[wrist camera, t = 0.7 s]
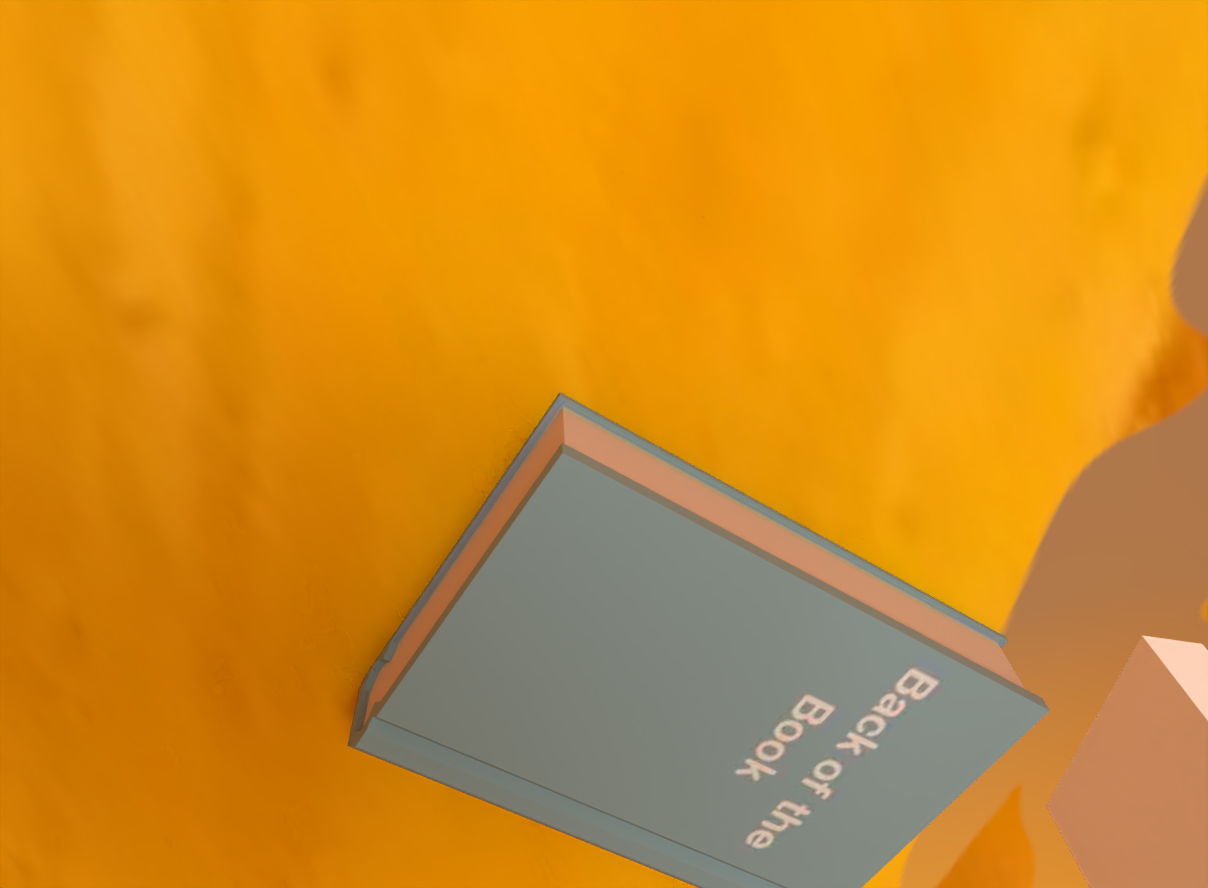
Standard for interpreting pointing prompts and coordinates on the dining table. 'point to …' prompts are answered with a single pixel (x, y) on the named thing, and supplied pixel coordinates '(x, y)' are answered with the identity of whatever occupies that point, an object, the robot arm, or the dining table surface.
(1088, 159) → the dining table surface
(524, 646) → the book
